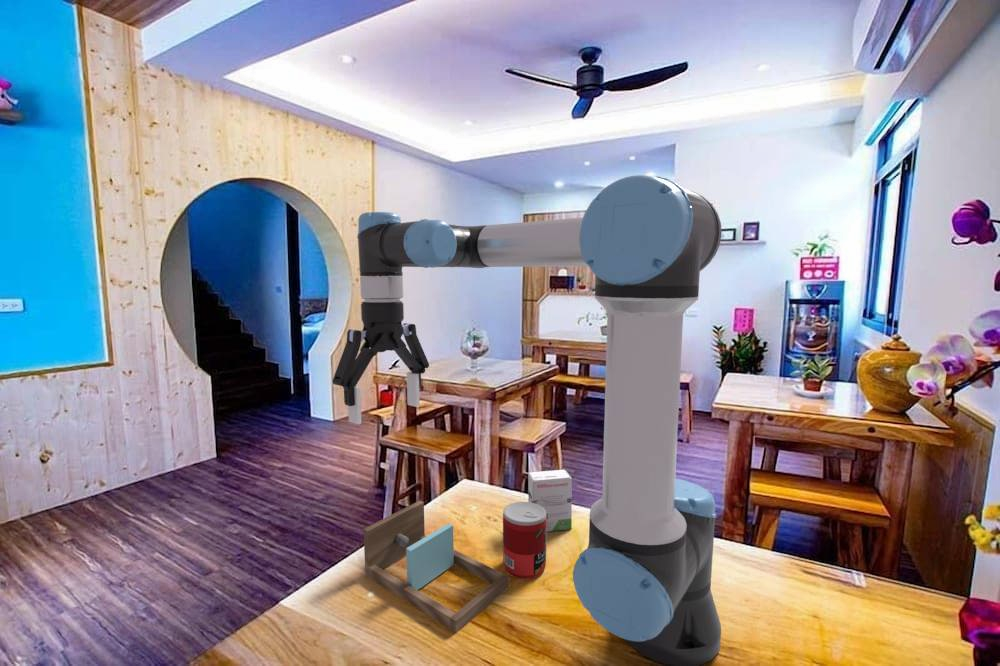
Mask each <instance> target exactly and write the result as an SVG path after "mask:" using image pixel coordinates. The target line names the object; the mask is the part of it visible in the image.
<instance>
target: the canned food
mask: <svg viewBox="0 0 1000 666" xmlns="http://www.w3.org/2000/svg"><path fill="white" fill-rule="evenodd" d="M502 553H503V554H502V555H503V556H502V559H503V560H502V561H503V562H502V563H503V568H504V569H505V571H506V572H507V574H509V576H512V577H514V578H516V579H520V580H521V579H522V580H530V579H531V580H532V579H534V578H538V577H540V576H541V575H542V574H543V573H544V572H545V569H546V566H547V532H546V511H545V509H544V508H543V507H542V506H540V505H538V504H535V503H531V502H528V501H516V502H513V503H509V504H507V505H506V506H505V507H504V508H503V511H502Z"/></svg>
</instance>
